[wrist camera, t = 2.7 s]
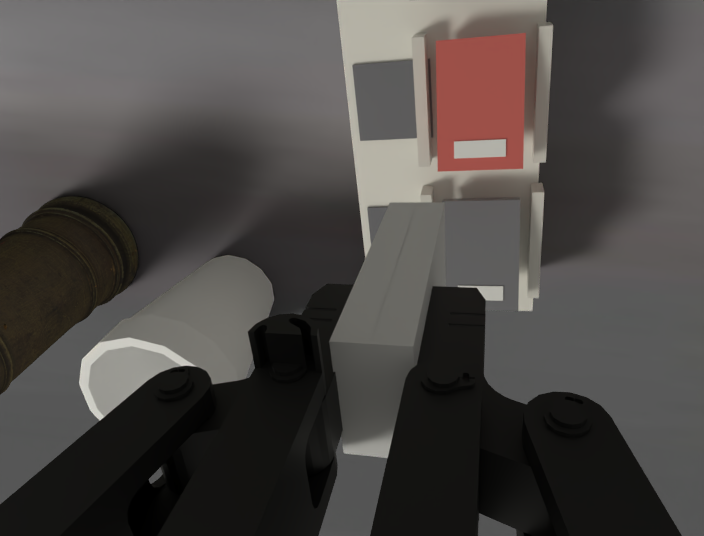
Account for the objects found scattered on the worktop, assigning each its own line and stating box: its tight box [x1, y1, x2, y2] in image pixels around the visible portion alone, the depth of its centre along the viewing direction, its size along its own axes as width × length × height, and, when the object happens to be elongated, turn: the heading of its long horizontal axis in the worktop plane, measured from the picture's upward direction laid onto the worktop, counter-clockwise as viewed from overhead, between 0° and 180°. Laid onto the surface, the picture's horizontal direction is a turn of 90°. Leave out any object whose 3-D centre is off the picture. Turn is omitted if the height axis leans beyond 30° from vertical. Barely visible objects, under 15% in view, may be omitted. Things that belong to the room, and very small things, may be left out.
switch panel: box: [337, 0, 553, 311], centre depth 31 cm, size 27×10×6 cm, turn 6°
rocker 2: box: [442, 197, 520, 311], centre depth 31 cm, size 6×4×1 cm, turn 7°
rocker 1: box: [436, 33, 526, 172], centre depth 27 cm, size 6×4×1 cm, turn 7°
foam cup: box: [79, 255, 274, 420], centre depth 39 cm, size 10×9×13 cm
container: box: [0, 196, 138, 394], centre depth 38 cm, size 9×9×18 cm
